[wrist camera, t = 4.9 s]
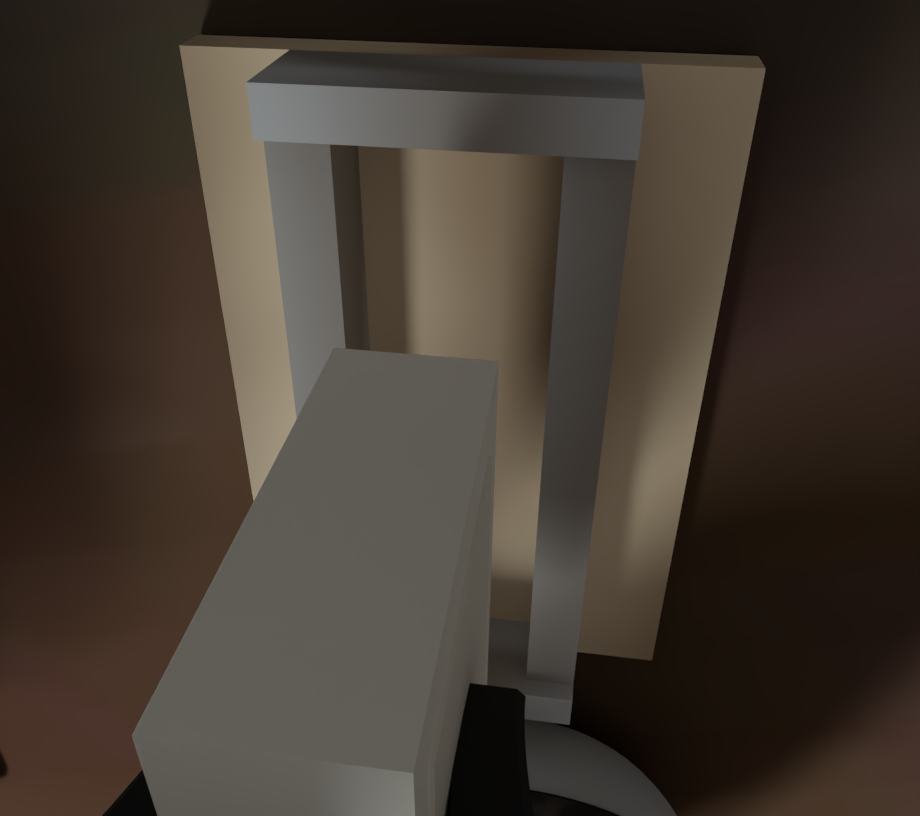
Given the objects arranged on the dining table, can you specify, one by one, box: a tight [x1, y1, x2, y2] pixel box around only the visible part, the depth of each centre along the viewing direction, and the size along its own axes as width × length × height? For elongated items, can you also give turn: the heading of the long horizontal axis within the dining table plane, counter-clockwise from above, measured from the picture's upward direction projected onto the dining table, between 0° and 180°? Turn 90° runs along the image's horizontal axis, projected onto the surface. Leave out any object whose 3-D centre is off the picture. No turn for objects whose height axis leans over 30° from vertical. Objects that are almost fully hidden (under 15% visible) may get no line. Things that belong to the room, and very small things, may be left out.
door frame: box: [179, 35, 766, 725], centre depth 17 cm, size 9×13×3 cm
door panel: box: [132, 348, 499, 816], centre depth 11 cm, size 2×8×6 cm, turn 0°
